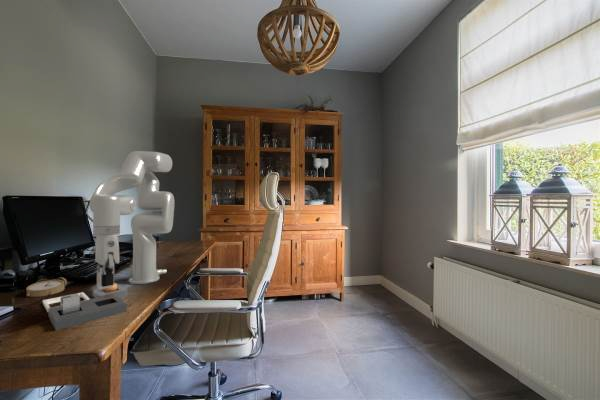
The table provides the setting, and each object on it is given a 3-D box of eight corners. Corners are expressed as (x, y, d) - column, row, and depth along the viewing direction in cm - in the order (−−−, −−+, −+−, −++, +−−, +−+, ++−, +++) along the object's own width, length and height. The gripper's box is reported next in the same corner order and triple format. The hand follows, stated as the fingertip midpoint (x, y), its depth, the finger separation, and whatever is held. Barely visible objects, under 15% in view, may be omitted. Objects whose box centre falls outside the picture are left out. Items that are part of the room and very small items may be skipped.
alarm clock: (19, 292, 102) (38, 275, 115) (20, 304, 102) (39, 285, 116) (57, 289, 106) (71, 272, 120) (58, 300, 107) (71, 283, 120)
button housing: (120, 291, 111) (120, 284, 111) (127, 297, 106) (127, 289, 106) (93, 297, 105) (93, 290, 105) (99, 304, 99) (99, 295, 99)
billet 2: (110, 283, 96) (110, 263, 96) (114, 286, 93) (114, 265, 93) (96, 286, 92) (96, 265, 92) (99, 289, 90) (99, 267, 90)
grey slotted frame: (113, 302, 101) (114, 294, 101) (126, 312, 92) (126, 304, 92) (48, 317, 87) (48, 308, 87) (55, 332, 78) (55, 321, 78)
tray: (83, 295, 106) (83, 292, 106) (90, 303, 99) (90, 299, 99) (42, 304, 98) (42, 300, 98) (47, 313, 90) (47, 309, 90)
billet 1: (76, 314, 89) (76, 293, 89) (79, 318, 86) (79, 296, 86) (59, 318, 86) (60, 296, 85) (62, 322, 83) (62, 299, 83)
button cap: (115, 288, 108) (115, 282, 108) (118, 290, 105) (118, 284, 105) (103, 291, 105) (103, 284, 105) (106, 293, 102) (106, 287, 102)
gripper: (127, 232, 90) (126, 287, 90) (112, 228, 101) (111, 277, 101) (100, 234, 85) (99, 292, 84) (87, 229, 95) (86, 281, 95)
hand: (105, 283), depth 93 cm, fingers closed on billet 2, 4 cm apart
